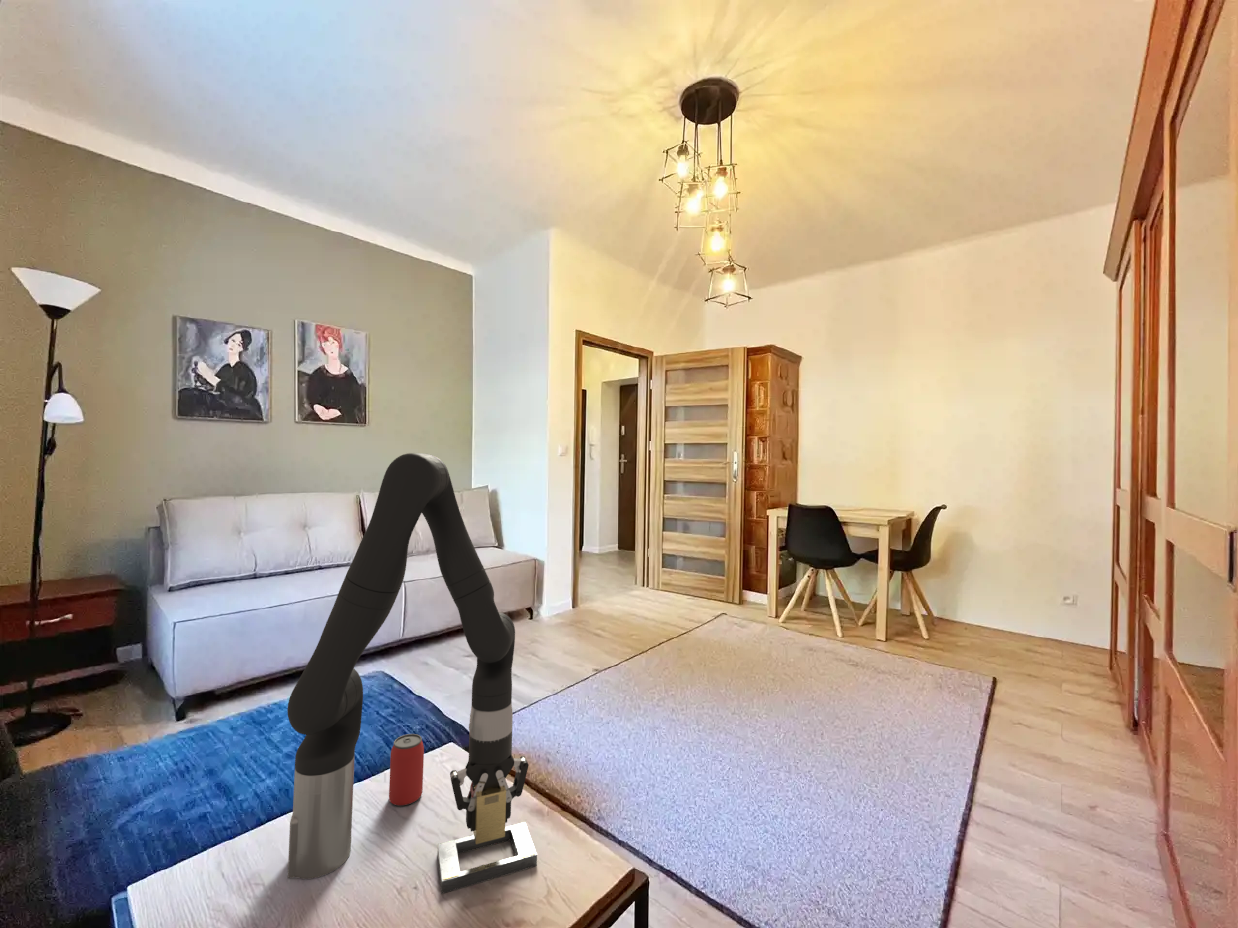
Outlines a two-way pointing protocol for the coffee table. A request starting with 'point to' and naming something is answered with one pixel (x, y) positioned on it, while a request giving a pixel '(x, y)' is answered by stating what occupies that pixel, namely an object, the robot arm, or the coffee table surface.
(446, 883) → the grey rectangular frame
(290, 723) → the robot arm
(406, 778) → the beer can
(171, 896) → the coffee table surface
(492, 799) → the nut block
